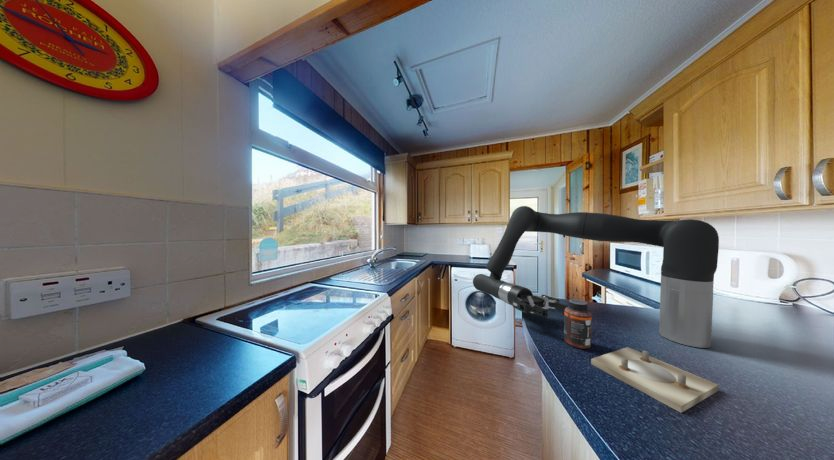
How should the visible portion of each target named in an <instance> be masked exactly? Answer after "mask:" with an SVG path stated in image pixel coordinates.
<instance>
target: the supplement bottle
mask: <svg viewBox="0 0 834 460" xmlns="http://www.w3.org/2000/svg"><path fill="white" fill-rule="evenodd" d="M567 306H568V307H567V308H565V311H564V312H563V318H564V319H563V341H564V342H565V343H566V344H568V345H569V346H571V347H573V348H577V349H583V350H584V349H585V350H587V349H590V348H591V347H592V330H593V329H592V327H593V325H592V322H593V319H592V317H593V314H592V312H591V311H589V309H588V302H587V301H584V300H582V299H581V300H579V299H569V300H568V305H567Z"/></svg>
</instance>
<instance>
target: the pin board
mask: <svg viewBox="0 0 834 460" xmlns="http://www.w3.org/2000/svg"><path fill="white" fill-rule="evenodd" d="M590 365H592V366H594V367H595V368H597V369H599V370H601V371H603V372H605V373H606V374H608V375H611V376H612V377H614V378H616V379H617V380H619V381H621V382H624V383H625V384H627V385H629V386H630V387H633V388H634V389H636V390H639V391H640V392H642V393H643V394H645V395H647V396H649V397H651V398H653V399H655V400H657V401H658V402H660V403H662V404H664V405H666V406H668V407H669V408H671V409H673V410H675V411H677V412H678V413H681V414H682V413H683V412H685V411H687V410H689V409H690V408H692V407H694V406H696V405H697V404H699V403H701V402H702V401H704V400H705V399H707V398H709V397H710V396H712V395H714V394H715V393H717V392H719V384H718V383H714V382H713V381H710V380H708V379H705V378H704V377H701V376H698V375H696V374H693V373H691V372H689V371H686V370H683V369H681V368H679V367H676V366H674V365H672V364H670V363H667V362H665V361H663V360H660V359H659V358H656V357H653V356H651V355H650V352H649V351H647V350H642V352H640V351H639V350H636V349H633V348H631V347H629V346H626V347H624V348H620V349H617V350H613V351H612V352H608V353H604V354H601V355H599V356H595V357H593V358H591V359H590Z"/></svg>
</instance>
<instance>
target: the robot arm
mask: <svg viewBox="0 0 834 460" xmlns="http://www.w3.org/2000/svg"><path fill="white" fill-rule="evenodd" d="M525 232H528V233H529V232H531V233H532V232H534V233H551V234H557V235H559V236H565V237H571V238H577V239H582V240H583V239H584V240H588V241H596V242H608V243H609V242H613V243H614V242H615V243H639V244H645V245H650V246H655V247H656V246H657V247H661V248H663V252H662V253H663V254H662V255H663V256H662V263H661V268H660V294H659V295H660V297H659V321H658V326H659V327H658V334H659V335H660V336H662V338H665V339H667V340H669V341H671V342H675V343H678V344H681V345H685V346H689V347H694V348H700V349H701V348H702V349H704V348H705V349H709V348H711V347H712V333H713V332H712V331H713V310H714V309H713V308H714V307H713V305H714V282H715V281H714V280H715V279H714V278H715V274H716V272H717V268H718V259H719V248H720V237H719V234H718V231H717V229H716V228H715V226H713V225H712V224H710V223H709V222H707V221H703V220H699V219H677V220H675V219H674V220H672V219H671V220H667V219H665V220H661V219H659V220H658V219H656V220H655V219H654V220H653V219H638V218H632V217H628V216H621V215H617V214H608V213H601V212H600V213H599V212H588V211H587V212H586V211H584V212H583V211H582V212H581V211H578V212H576V211H575V212H567V213H558V214H557V213H547V212H540V211H536V210H534V209H533V208H532V207H530V206H528V205H521V206H518V207H516V208H515V209H514V211H513V212H512V213H511V216H510V218H509V219H508V223H507V226H506V228H505V231H504V233H503V234H502V237H501V239H500V241H499V243H498V244H497V247H496V249H495V251H494V252H493V253H492V255H491V257H490V258H489V261H488V262H487V263H486V266H485V267H486V269H487V271H489V273H490V274H489V275H486V274H484V273H478V274H476V275H475V276H474V277H473V279H472V284H473V287H474V288H475V289H476V290H477V291H479V292H482V293H485V294H488V295H489V296H492V297H494V298H496V299H498V300H500V301H503V302H504V303H506V304H507V305H509V306H512V308H514V309H516V310H518V311H520V312H522V313H524V314H529V313H530V314H536V315H538V316H541V317H543V318H548V314H549V312H548V309H553V310H557V311H558V312H561V313H564V311H565V308H567V307H568V306H569V305H567V304H564V303H560V299H559V298H555V297H553V296H548V295H545V294H541V296H539V295H537V294H533V292H532V291H531V290H530V289H529V288H528V287H525V286H521V285H518V284H516V283H511V282H507V281H503V280H502V276H503V274H504V271H505V270H506V268H508V265H509V263H510V261H511V260H512V258H513V256H514V252H515V249H516V246H517V244H518V242H519V240H520V239H521V237H522V236H523V234H524V233H525Z"/></svg>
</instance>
